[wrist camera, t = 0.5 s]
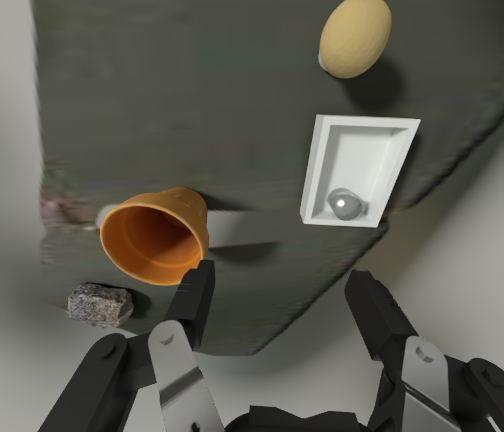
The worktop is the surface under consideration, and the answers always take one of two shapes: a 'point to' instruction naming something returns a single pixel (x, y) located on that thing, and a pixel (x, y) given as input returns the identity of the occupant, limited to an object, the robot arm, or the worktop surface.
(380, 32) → the amber frosted bulb
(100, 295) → the rock
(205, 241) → the flower pot
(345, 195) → the grey rounded piece
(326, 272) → the worktop surface
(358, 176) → the tray
